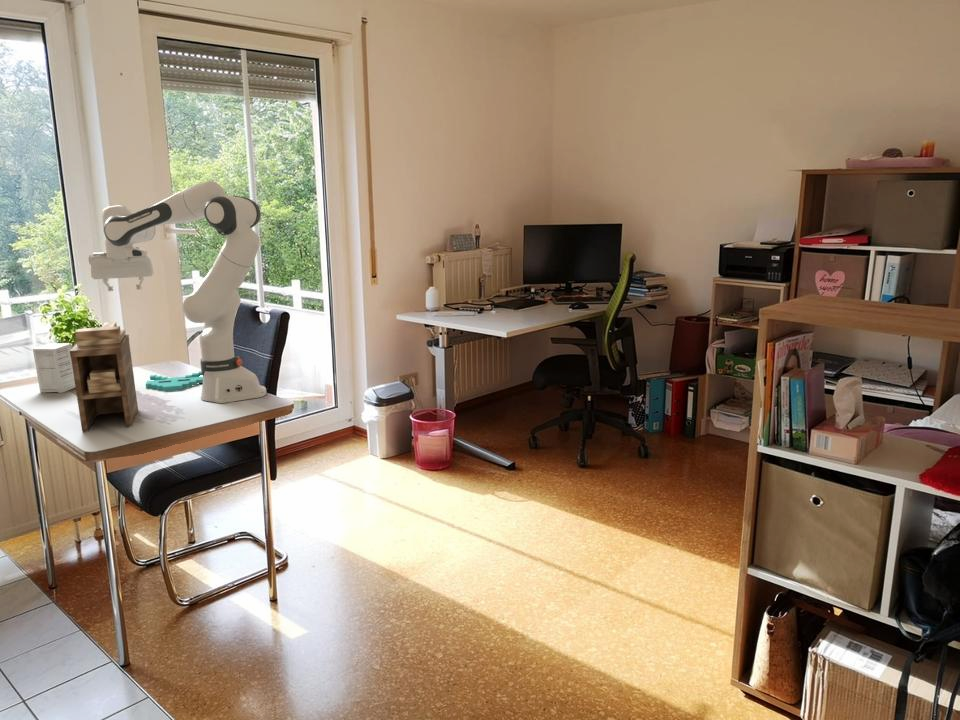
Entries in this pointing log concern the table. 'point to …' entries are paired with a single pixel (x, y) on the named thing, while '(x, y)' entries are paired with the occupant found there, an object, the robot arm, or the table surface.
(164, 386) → the alien figure
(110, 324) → the plywood board
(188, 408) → the table surface
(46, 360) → the supplement box
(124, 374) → the walnut shelf
